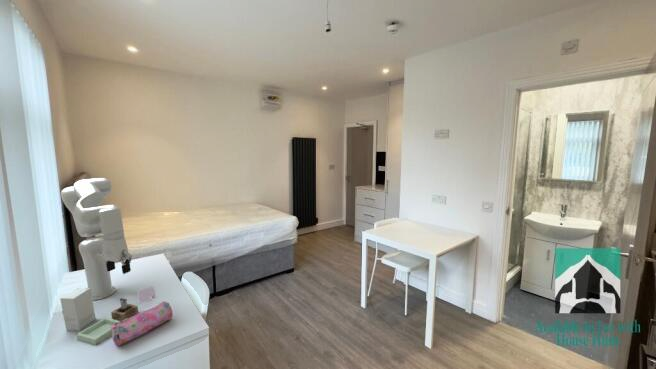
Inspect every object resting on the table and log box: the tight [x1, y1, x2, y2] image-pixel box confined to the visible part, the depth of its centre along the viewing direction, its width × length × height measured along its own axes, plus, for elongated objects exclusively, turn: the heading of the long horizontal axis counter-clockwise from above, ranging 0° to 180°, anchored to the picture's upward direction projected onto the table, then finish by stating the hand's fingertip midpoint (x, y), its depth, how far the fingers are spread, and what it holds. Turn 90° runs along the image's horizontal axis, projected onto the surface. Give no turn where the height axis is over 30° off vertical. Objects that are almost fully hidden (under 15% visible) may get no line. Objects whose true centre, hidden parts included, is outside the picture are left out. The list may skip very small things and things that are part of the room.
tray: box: [76, 317, 119, 346], centre depth 112 cm, size 11×11×2 cm
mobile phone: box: [137, 286, 157, 304], centre depth 141 cm, size 8×1×15 cm
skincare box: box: [59, 287, 96, 332], centre depth 117 cm, size 8×7×16 cm
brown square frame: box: [111, 303, 139, 321], centre depth 124 cm, size 7×7×4 cm
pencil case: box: [110, 301, 173, 346], centre depth 112 cm, size 21×9×9 cm, turn 143°
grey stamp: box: [119, 297, 128, 313], centre depth 123 cm, size 4×4×8 cm
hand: (119, 271), depth 120 cm, fingers open, 9 cm apart
